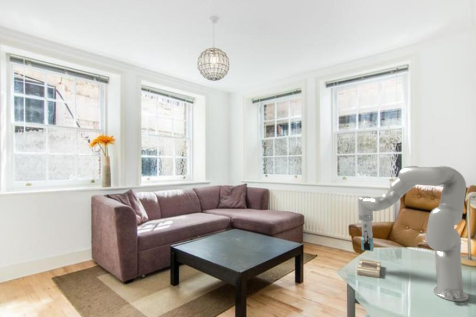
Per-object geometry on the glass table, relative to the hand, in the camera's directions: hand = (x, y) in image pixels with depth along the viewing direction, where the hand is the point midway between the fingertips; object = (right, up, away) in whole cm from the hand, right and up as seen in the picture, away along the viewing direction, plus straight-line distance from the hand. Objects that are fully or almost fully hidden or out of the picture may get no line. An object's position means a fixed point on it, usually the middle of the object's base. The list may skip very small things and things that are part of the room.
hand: (367, 247), depth 154 cm
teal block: (0, -1, 0) cm, 1 cm away
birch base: (+1, -13, -1) cm, 13 cm away
